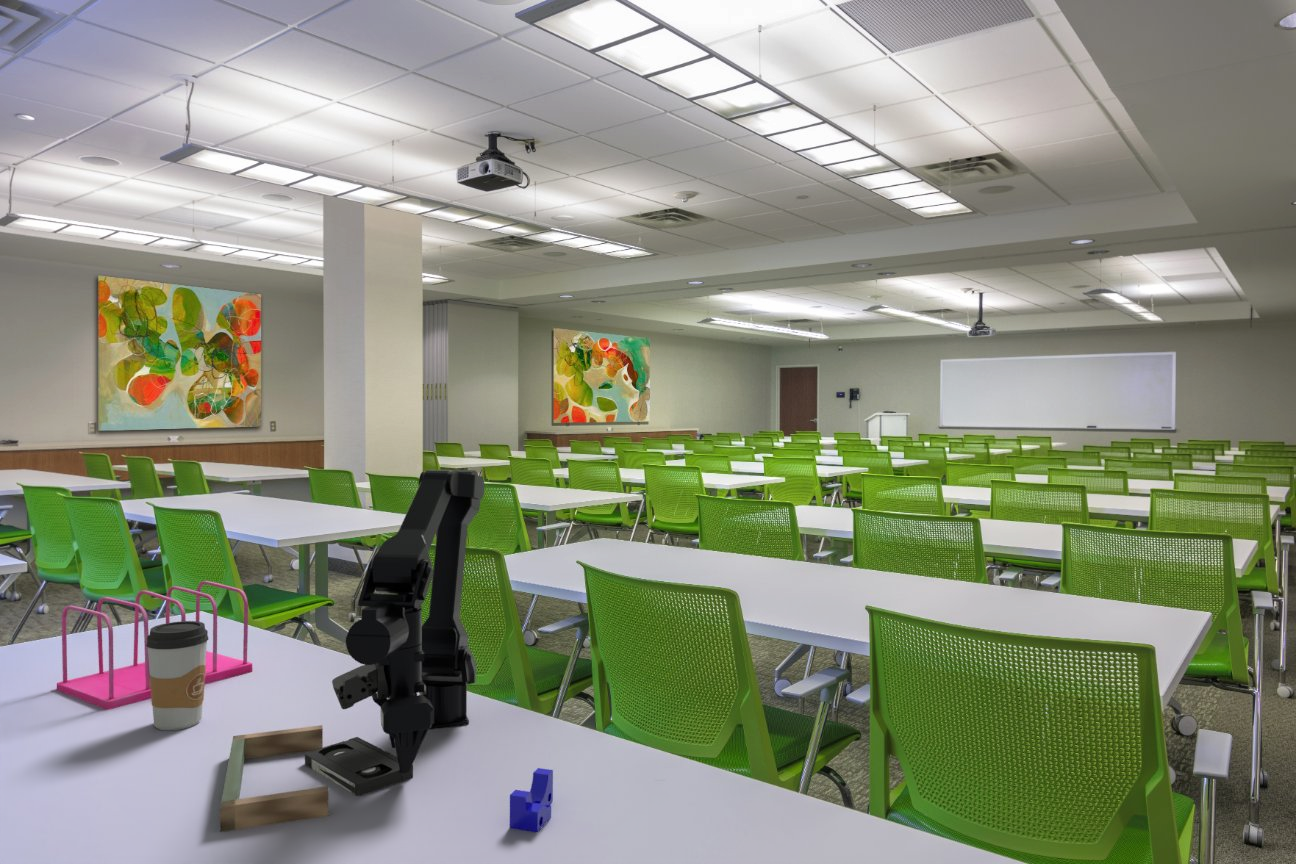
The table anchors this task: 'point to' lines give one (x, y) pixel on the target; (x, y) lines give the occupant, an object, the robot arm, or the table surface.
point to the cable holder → (532, 803)
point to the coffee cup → (177, 673)
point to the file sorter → (135, 679)
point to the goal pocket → (274, 805)
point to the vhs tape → (356, 766)
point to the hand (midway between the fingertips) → (400, 759)
